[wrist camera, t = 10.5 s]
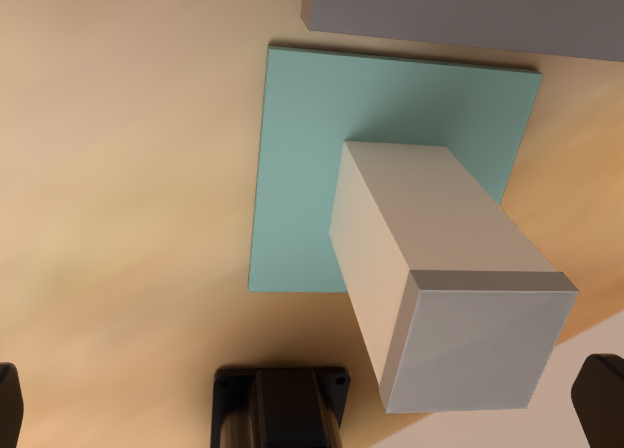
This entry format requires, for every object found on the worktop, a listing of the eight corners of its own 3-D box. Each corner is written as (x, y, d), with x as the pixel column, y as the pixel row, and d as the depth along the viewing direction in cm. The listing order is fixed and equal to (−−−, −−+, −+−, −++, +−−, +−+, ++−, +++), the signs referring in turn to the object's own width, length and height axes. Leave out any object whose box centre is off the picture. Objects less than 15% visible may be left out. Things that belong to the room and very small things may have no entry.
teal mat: (465, 286, 26) (470, 293, 25) (247, 284, 24) (248, 291, 23) (536, 70, 21) (543, 74, 20) (267, 45, 19) (269, 48, 18)
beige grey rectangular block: (423, 236, 23) (526, 408, 15) (327, 234, 22) (385, 413, 15) (447, 145, 21) (579, 291, 13) (342, 139, 20) (419, 290, 13)
